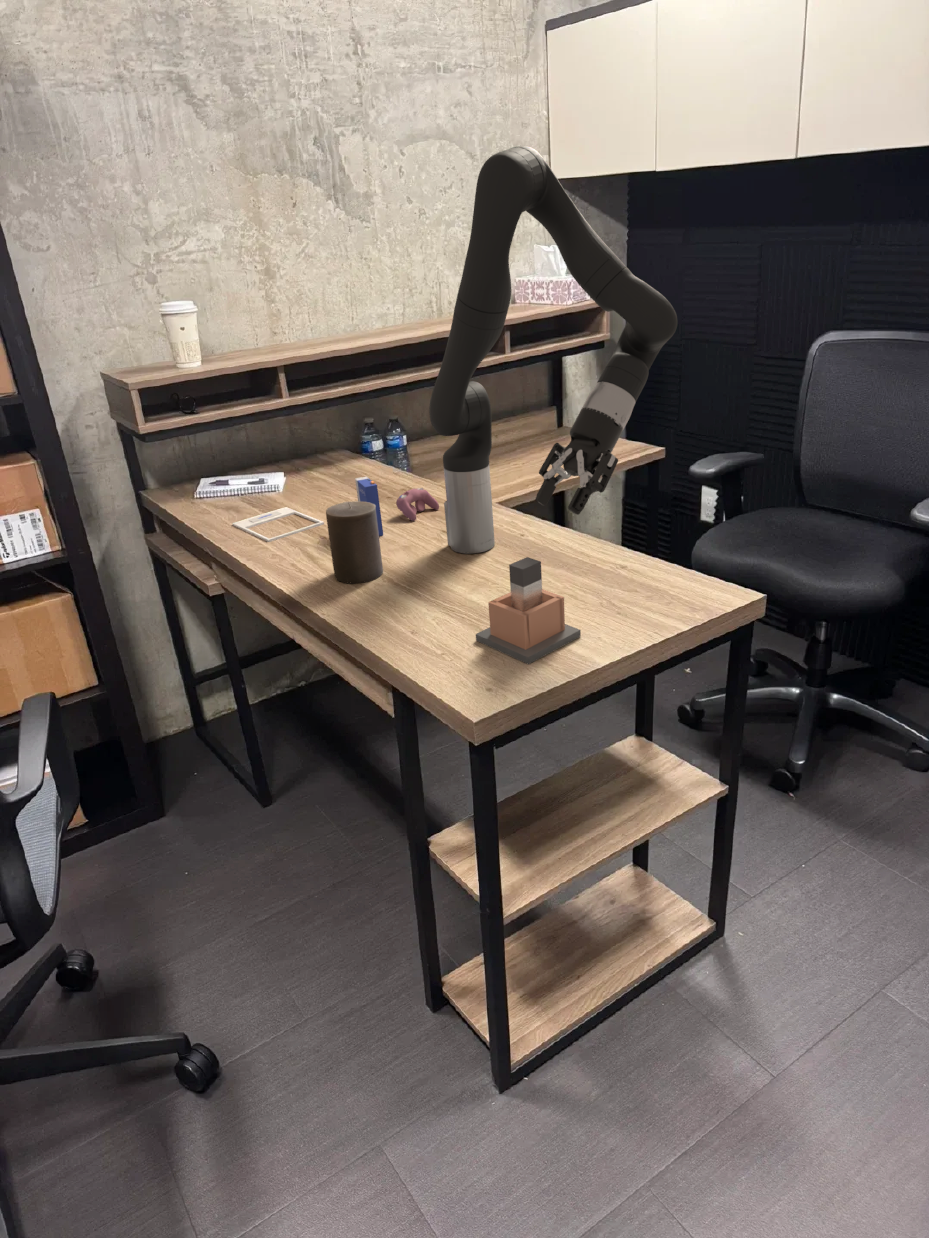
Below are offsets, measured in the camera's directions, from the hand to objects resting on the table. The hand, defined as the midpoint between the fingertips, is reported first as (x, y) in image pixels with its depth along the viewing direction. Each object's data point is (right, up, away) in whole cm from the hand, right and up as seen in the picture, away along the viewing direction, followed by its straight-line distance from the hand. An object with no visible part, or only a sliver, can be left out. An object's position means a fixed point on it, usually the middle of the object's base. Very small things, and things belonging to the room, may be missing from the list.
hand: (556, 507), depth 134 cm
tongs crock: (-4, -21, +2) cm, 22 cm away
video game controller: (-26, +7, +63) cm, 68 cm away
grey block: (-4, -20, +2) cm, 20 cm away
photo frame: (-59, +4, +64) cm, 87 cm away
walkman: (-35, +2, +54) cm, 64 cm away
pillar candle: (-36, -9, +32) cm, 49 cm away
